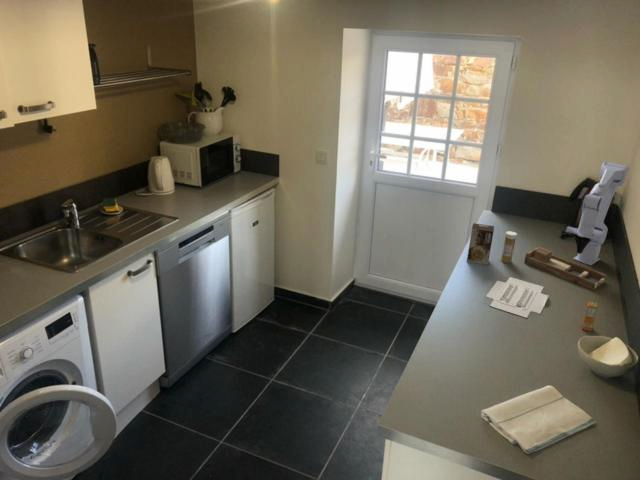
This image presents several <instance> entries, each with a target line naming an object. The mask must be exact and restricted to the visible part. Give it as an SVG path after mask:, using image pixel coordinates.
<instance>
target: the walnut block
mask: <svg viewBox="0 0 640 480" xmlns="http://www.w3.org/2000/svg"><path fill="white" fill-rule="evenodd" d="M551 255H553V250H552V251H551V250H548V249H546V248H543V247H540V249H538V250H536V252H535V256H534V259H536V260H539V261H542V262H544V263H546V262H547V261H549V260H550V259H551Z"/></svg>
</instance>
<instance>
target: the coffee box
mask: <svg viewBox="0 0 640 480" xmlns="http://www.w3.org/2000/svg"><path fill="white" fill-rule="evenodd" d="M494 231H495V225H488V224H487V225H486V224H480V223H472V227H471V232H470V240H469V243H468V244H469V245H468V252H467V257H466V262H467V263H473V264H479V265H485V266H488V265H489V259H490V255H491V249H492V243H493V238H494V237H493V236H494Z"/></svg>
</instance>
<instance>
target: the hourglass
mask: <svg viewBox="0 0 640 480" xmlns="http://www.w3.org/2000/svg"><path fill="white" fill-rule="evenodd" d="M597 311H598V302H593V301H587V306H586V309H585V313H584V316H583V317H584V318H583V320H582V325H581V330H583V329H584V331H587V330H588V332H592V330H593V328H594V323H595V320H596V316H597V315H596V314H597Z"/></svg>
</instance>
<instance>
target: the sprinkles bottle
mask: <svg viewBox="0 0 640 480" xmlns="http://www.w3.org/2000/svg"><path fill="white" fill-rule="evenodd" d="M504 236H505V237H504V243H503V247H502V253H501V258H500V261H501V262H503V263H505V264H510V263H511V262H512V259H513V255H514V249H515V244H516V240H517V236H518V233H517V232H515V231H509V230H508V231H506V232H505V235H504Z"/></svg>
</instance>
